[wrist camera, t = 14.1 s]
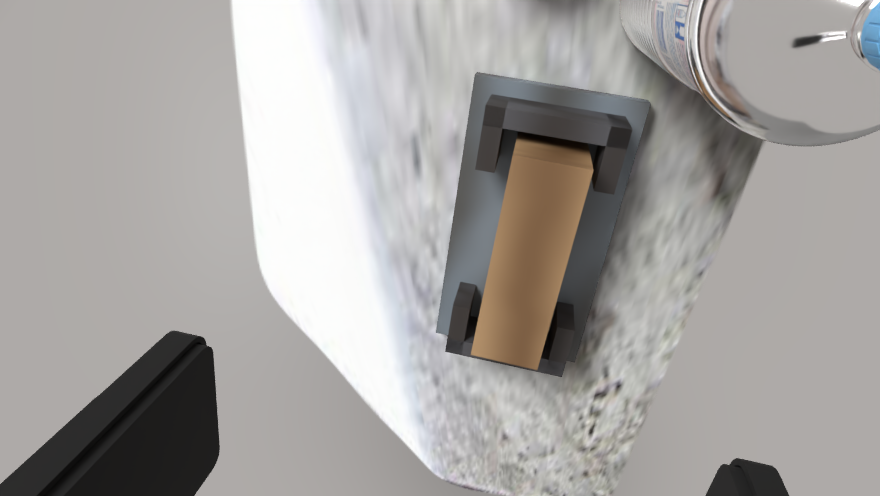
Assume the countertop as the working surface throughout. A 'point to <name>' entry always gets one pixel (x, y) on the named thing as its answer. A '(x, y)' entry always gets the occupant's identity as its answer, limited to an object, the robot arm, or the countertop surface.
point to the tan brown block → (532, 247)
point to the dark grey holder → (483, 187)
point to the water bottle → (771, 62)
